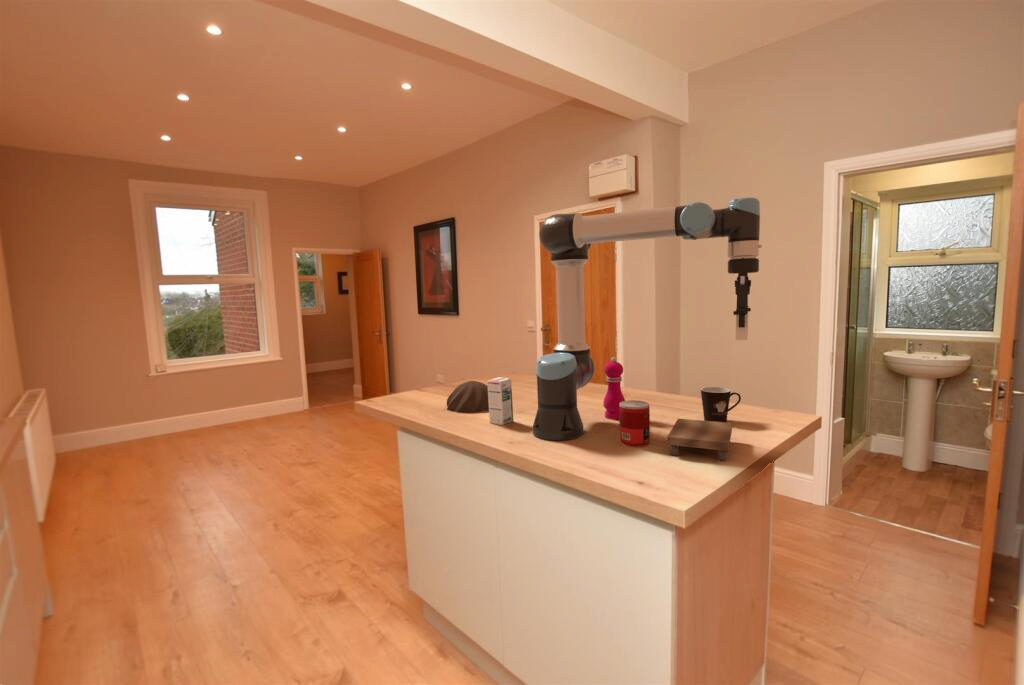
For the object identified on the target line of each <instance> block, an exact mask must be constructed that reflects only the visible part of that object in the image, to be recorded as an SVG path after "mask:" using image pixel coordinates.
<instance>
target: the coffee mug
mask: <svg viewBox="0 0 1024 685" xmlns="http://www.w3.org/2000/svg"><path fill="white" fill-rule="evenodd" d="M700 394H701V404H702V413H703V421H714V422H726V423H728V422H727V421H728V412H730V411H731V410H733V409H734V408H736V407H737V406H738V405H739V404H740V402H741V399H742V398H741V395H740V393H738V392H734V391H733V392H732V389H730V388H727V387H719V386H704V387H701V388H700ZM733 395H736V396H737V397H738V400H737V401H736V403H734V404H733V405H732V406H731V407H729V406H730V401H731V400H730V398H731V396H733Z"/></svg>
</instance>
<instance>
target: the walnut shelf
mask: <svg viewBox="0 0 1024 685" xmlns="http://www.w3.org/2000/svg"><path fill="white" fill-rule="evenodd" d="M672 426H673V427H672V428H671V430H670V432H669V434H668V435H667V441H666V443H667V445H670V456H673V457H678V456H679V447H686V448H687V447H688V448H698V449H707V450H713V451H714V450H715V451H717V461H718V462H721V461H724V462H726V461H727V452H729V450H730V449H729V448H730V444H731V439H732V437H731V436H732V432H733V422H714V421H704V420H699V419H687V418H677V420H676V422H675V423H674V425H672Z"/></svg>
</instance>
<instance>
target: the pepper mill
mask: <svg viewBox="0 0 1024 685" xmlns="http://www.w3.org/2000/svg"><path fill="white" fill-rule="evenodd" d="M604 373H605V375H606V380H605V381H607V390H606V394H605V396H604V399H603V401H602V402H603V404H602V405H603V408H604V409H605V411H604V417H605V418H607V419H609V420H610V419H611V420H620V412H619V408H620V407H619V405H620V403H621V402H623V401H626V399H625V396H624V394H623V392H622V388H621V382H622V381H623V380H622V375H623V373H624V367H623V365H622V363H620V362H618V361H617V357H614V356H613V357H611V358H610V361H609V362H607V363H606V365H605V366H604Z"/></svg>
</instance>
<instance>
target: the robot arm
mask: <svg viewBox="0 0 1024 685" xmlns="http://www.w3.org/2000/svg"><path fill="white" fill-rule="evenodd" d="M760 206H761V204H760V200H759V199H758V198H756V197H741V198H734V199H731V200H729V202H728V205H727V207H725V208H719V209H716V208H715V209H713V208H712V206H710V205H709V204H708V203H704V202H700V201H696V202H692V203H690V204H687V205H680V206H669V207H668V206H667V207H661V208H660V207H659V208H650V209H641V210H640V209H639V210H631V211H630V210H629V211H621V212H612V213H611V212H610V213H601V214H592V215H583V214H581V213H580V212H579V213H578V212H573V213H555V214H552V215H549V216H548V217H547V218H546V219H544V220H543V222H542V223H541V225H540V228H539V232H538V234H539V235H538V236H539V237H538V238H539V241H540V244H541V245H542V247H543V248H544V249H545V250H546V251H547V252H549V253H550V263H551V264H552V265H553V266H554V267H555V274H556V276H555V278H556V282H555V283H556V309H557V313H556V314H557V340H558V341H557V344H556V345H555V346H554V347H553V352H551V353H550V354H549V353H547V354H544V355H542V356H539V358H537V361H536V369H535V372H536V383H537V384H536V387H537V388H536V391H537V411H536V414H535V418H534V420H533V421H534V422H533V424H532V434H533V435H534V436H535V437H536V438H538V439H541V440H548V441H566V440H567V441H568V440H573V439H577V438H580V437H582V436H583V435H584V434H585V433H584V431H585V428H584V423H583V420H582V417H581V415H580V412H579V408H578V395H577V394H578V393H577V392H578V390H579V389H582V388H584V387H585V386H587V384H589V383H590V381H591V380H592V378H593V377H594V375H595V371H596V370H595V368H596V366H595V362H594V359H593V358H592V356H591V346H590V345H589V344H587V341H586V319H585V318H586V317H585V313H586V312H585V280H584V279H585V278H584V277H585V275H584V266H585V265H586V264H587V263H588V261H589V250H590V248H591V246H592V244H600V243H611V242H624V241H638V240H648V239H649V240H651V239H660V238H661V239H662V238H671V237H672V238H673V237H674V238H675V237H682V239H683V240H693V241H696V240H700V239H701V240H703V239H704V240H705V239H714V238H715V239H716V238H726V237H727V238H728V240H727V242H728V243H727V257H728V258H729V259H728V261H727V273H728V274H732V275H733V274H737V277H736V280H734V287H735V295H736V309H735V310H734V311H733V312H732V313H733V314H732V315H734V316H735V341H747V340H748V335H749V312H751V311H752V310H751V307H749V303H748V302H749V295H750V293H751V292H750V291H751V286H752V279H749V276H748V275H749V274H755V273H758V272H759V271H760V259H759V258H757V257H759V256H760V250H759V249H762V247H763V246H762V244H760V228H761V222H760V221H761V211H760V210H761V207H760Z"/></svg>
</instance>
